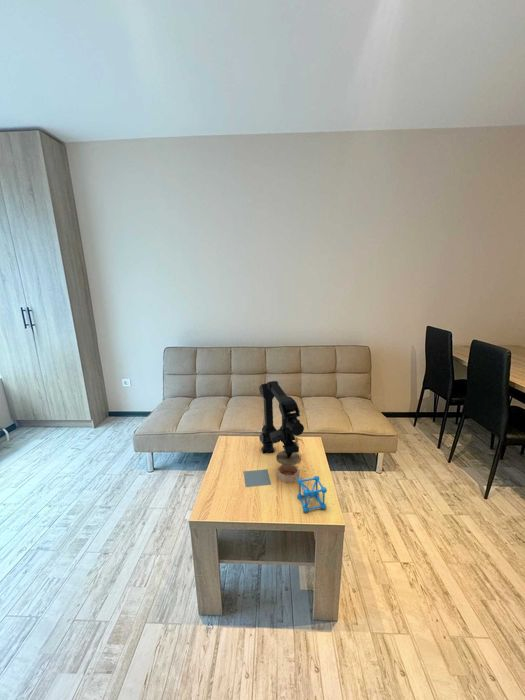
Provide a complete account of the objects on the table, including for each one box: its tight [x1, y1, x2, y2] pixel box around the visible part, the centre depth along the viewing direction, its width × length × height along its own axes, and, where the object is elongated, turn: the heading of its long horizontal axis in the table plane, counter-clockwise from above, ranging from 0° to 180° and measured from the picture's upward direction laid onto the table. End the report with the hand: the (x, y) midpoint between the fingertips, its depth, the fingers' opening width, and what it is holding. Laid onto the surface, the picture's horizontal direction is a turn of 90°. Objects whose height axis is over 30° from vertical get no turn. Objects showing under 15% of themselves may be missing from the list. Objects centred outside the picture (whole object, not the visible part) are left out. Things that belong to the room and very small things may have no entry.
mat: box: [243, 468, 272, 488], centre depth 144 cm, size 12×12×1 cm
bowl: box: [276, 464, 300, 484], centre depth 145 cm, size 10×10×4 cm
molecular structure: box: [296, 475, 328, 513], centre depth 126 cm, size 10×10×10 cm
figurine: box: [293, 436, 305, 460], centre depth 159 cm, size 8×6×12 cm
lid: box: [275, 450, 301, 465], centre depth 142 cm, size 11×11×5 cm
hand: (287, 455), depth 143 cm, fingers closed on lid, 3 cm apart
